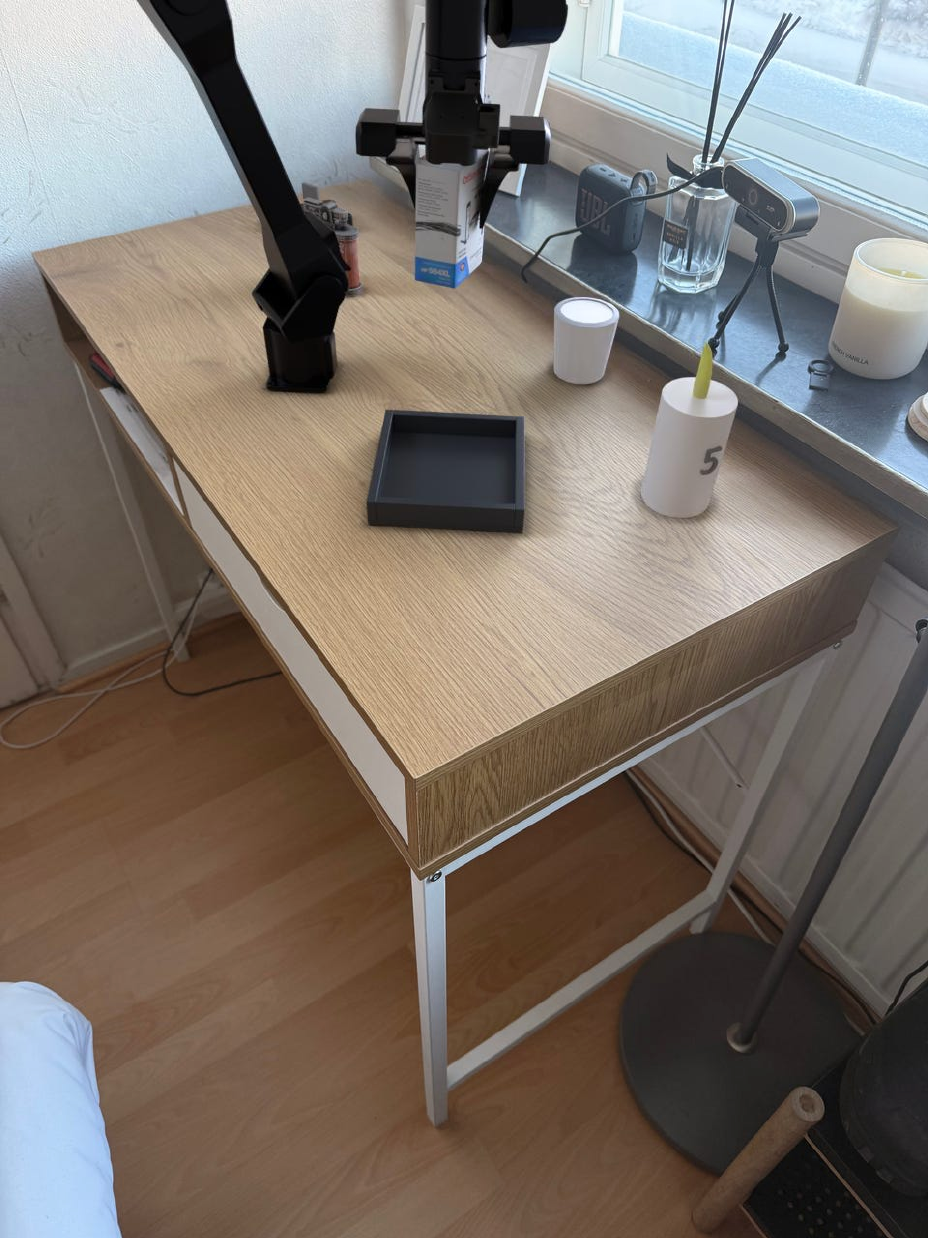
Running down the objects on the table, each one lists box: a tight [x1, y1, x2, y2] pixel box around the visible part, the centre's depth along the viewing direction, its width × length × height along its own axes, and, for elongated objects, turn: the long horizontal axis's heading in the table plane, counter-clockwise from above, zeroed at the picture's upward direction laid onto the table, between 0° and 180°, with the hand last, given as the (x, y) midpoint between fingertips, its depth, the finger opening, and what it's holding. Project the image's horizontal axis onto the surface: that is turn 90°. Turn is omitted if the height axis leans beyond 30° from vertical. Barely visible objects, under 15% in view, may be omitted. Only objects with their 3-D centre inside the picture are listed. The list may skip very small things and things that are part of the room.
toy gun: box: [258, 181, 354, 227], centre depth 118 cm, size 10×12×5 cm
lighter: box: [302, 198, 362, 297], centre depth 105 cm, size 8×3×10 cm, turn 58°
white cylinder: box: [552, 296, 620, 385], centre depth 93 cm, size 7×7×7 cm
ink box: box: [414, 148, 490, 289], centre depth 90 cm, size 9×5×12 cm, turn 158°
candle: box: [640, 342, 739, 519], centre depth 75 cm, size 6×6×15 cm
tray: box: [366, 409, 525, 534], centre depth 80 cm, size 14×15×3 cm
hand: (451, 225), depth 91 cm, fingers closed on ink box, 6 cm apart
